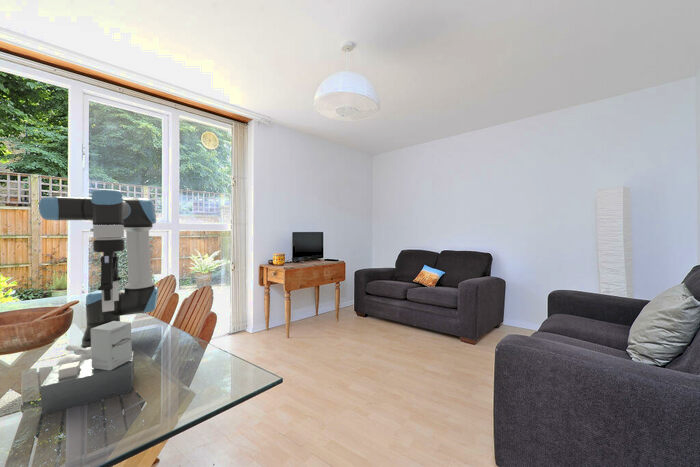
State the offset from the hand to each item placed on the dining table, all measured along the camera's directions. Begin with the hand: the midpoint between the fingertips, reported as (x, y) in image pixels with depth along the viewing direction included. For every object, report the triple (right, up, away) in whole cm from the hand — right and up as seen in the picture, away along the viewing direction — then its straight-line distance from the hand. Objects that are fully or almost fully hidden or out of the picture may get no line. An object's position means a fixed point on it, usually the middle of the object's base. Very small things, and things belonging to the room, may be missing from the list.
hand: (111, 305), depth 93 cm
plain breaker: (-8, -21, -6) cm, 23 cm away
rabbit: (-18, -27, +8) cm, 33 cm away
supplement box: (0, -19, 0) cm, 19 cm away
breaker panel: (-5, -27, -1) cm, 27 cm away
